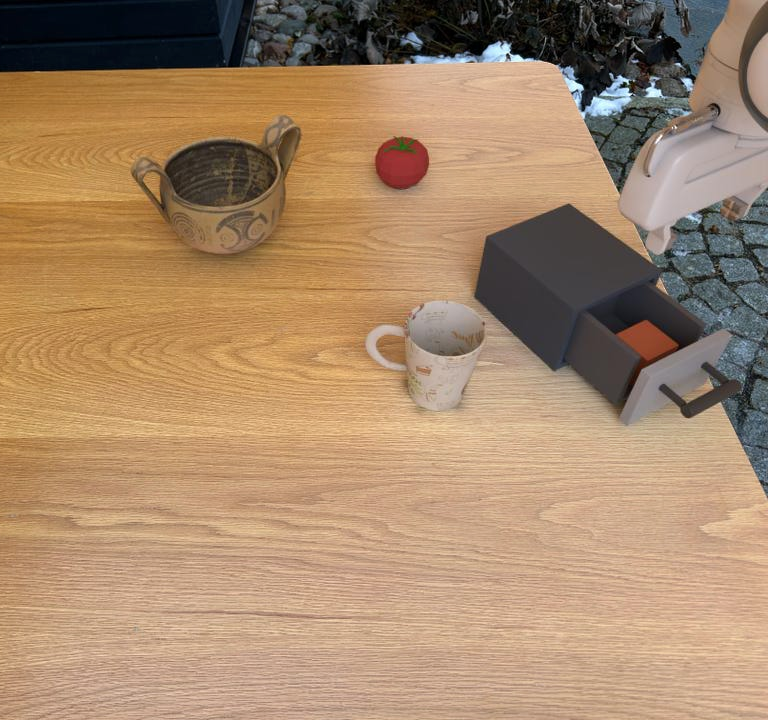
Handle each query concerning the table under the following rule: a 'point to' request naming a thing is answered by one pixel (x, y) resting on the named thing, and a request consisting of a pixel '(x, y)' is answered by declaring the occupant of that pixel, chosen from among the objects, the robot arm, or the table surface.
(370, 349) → the mug
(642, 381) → the drawer
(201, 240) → the ceramic bowl
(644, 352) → the block
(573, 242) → the cabinet
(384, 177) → the tomato
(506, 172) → the table surface
